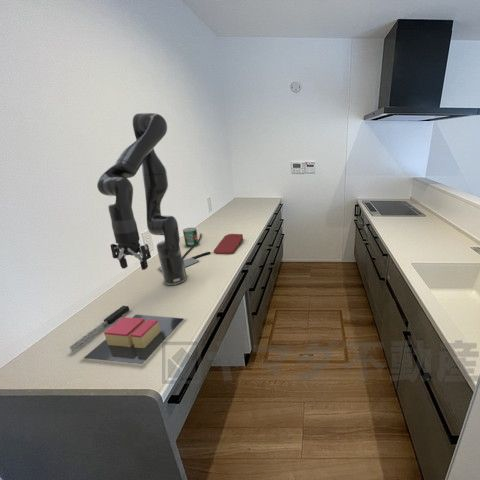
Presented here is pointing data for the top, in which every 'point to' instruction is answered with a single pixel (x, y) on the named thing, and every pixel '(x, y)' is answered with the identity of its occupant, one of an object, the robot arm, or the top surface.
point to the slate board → (132, 352)
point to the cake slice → (145, 333)
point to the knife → (100, 326)
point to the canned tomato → (190, 237)
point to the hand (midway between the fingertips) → (134, 268)
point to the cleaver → (191, 260)
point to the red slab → (228, 244)
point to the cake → (123, 331)
